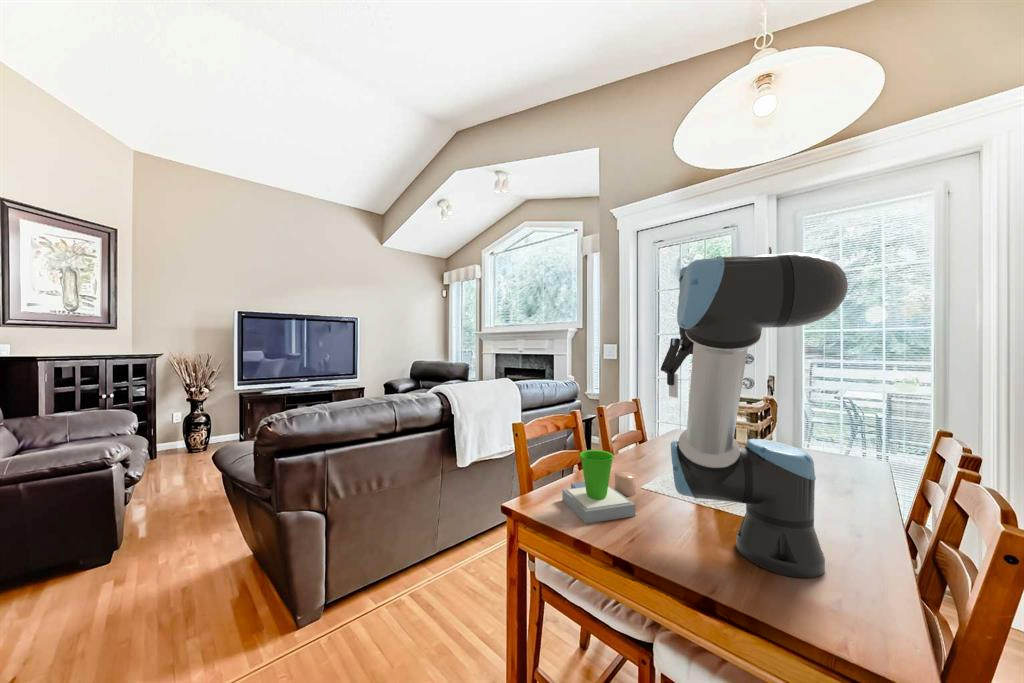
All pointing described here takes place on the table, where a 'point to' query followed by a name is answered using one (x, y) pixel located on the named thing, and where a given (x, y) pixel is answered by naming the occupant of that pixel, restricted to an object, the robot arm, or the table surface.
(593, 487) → the cup
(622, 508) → the podium
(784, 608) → the table surface
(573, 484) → the book
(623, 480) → the beige rounded block
